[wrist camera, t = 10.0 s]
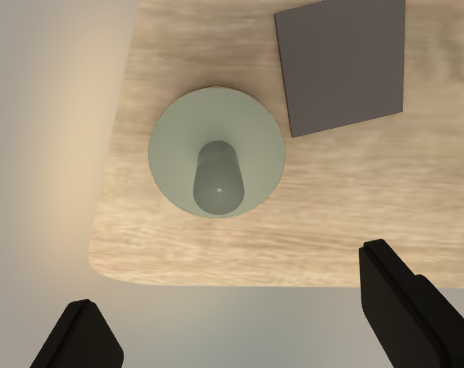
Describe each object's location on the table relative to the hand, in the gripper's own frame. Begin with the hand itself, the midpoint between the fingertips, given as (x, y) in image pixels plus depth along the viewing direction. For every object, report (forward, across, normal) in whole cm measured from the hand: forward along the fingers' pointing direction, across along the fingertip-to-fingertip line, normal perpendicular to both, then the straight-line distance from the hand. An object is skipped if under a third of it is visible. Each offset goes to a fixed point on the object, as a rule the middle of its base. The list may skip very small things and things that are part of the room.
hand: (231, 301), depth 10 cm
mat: (+21, -12, -4) cm, 25 cm away
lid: (+16, +1, 0) cm, 16 cm away
